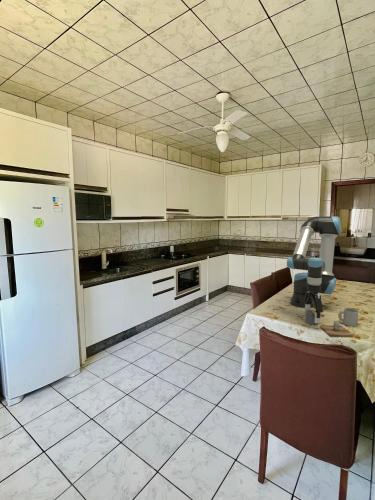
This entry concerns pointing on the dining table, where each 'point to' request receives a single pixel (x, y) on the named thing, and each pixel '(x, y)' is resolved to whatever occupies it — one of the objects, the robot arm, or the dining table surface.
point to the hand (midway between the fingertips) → (312, 318)
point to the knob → (310, 317)
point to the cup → (349, 317)
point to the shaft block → (336, 330)
